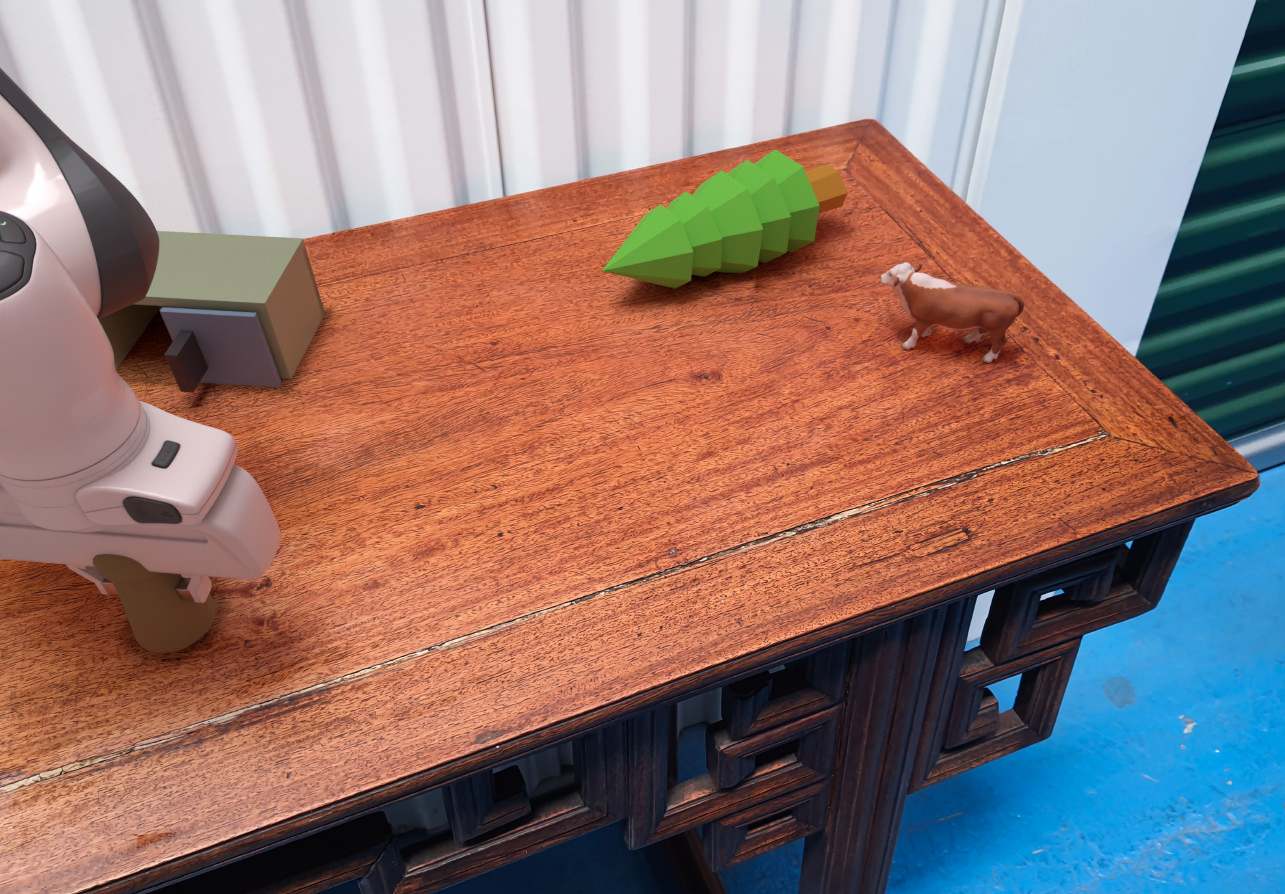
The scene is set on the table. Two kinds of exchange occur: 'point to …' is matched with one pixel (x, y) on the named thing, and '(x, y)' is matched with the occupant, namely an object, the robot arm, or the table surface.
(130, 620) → the cork
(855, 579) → the table surface
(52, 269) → the robot arm
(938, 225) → the table surface
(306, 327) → the cupboard
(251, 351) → the slide door
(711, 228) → the decorative tree
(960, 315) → the bull figurine
